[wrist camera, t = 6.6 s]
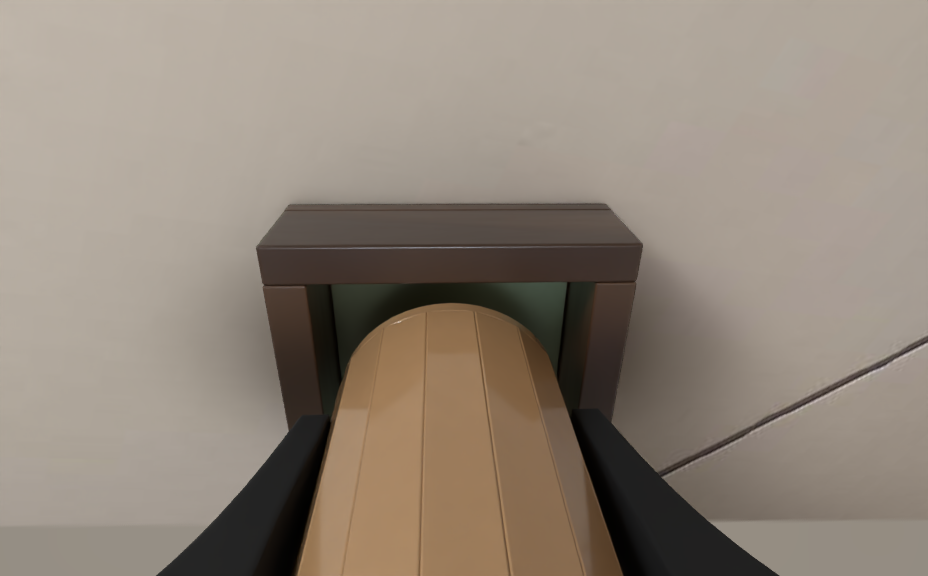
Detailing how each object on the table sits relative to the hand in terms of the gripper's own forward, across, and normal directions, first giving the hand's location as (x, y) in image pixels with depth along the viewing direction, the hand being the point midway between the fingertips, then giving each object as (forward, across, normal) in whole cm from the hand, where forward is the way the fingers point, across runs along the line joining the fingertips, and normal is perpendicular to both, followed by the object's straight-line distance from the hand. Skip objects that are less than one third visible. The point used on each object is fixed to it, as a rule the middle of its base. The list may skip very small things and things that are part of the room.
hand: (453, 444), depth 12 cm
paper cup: (+2, 0, 0) cm, 2 cm away
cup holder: (+5, 0, 0) cm, 5 cm away
